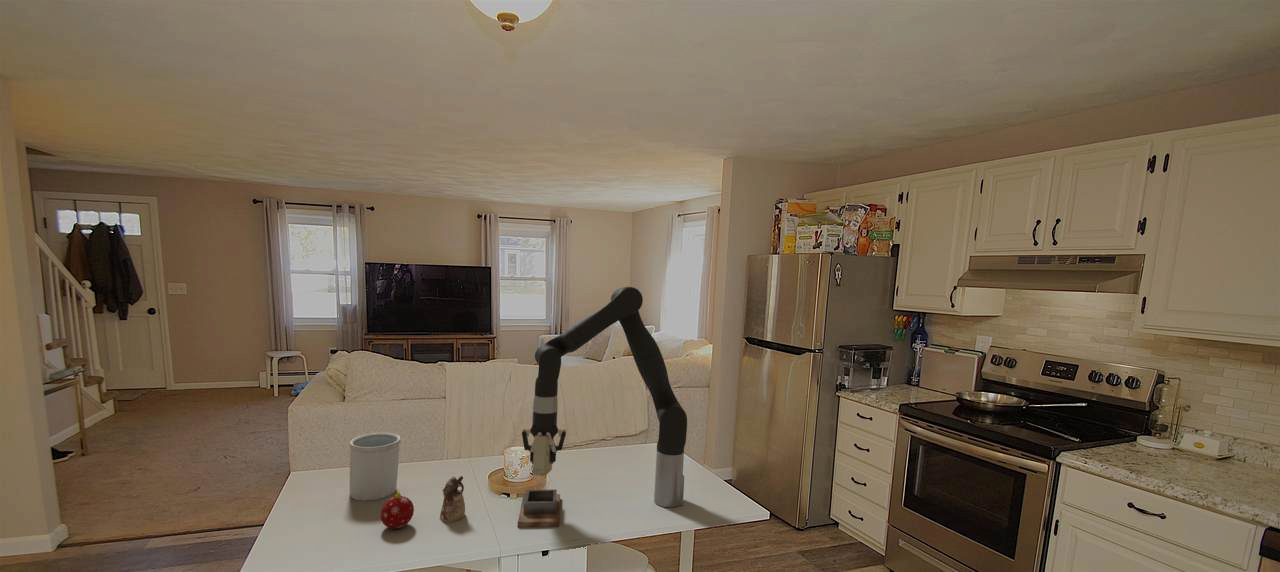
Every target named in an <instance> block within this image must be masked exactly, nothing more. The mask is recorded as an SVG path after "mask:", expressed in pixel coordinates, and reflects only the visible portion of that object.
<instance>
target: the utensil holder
mask: <svg viewBox="0 0 1280 572" xmlns="http://www.w3.org/2000/svg"><path fill="white" fill-rule="evenodd" d="M401 440H402V439H401V436H400V435H399V434H396V433H393V432H373V433H366V434H362V435H359V436H355V437H354V438H352V439H351V440H350V441H349V448H350V449H349V450H350V453H349V497H350V498H351V499H353V500H356V501H362V502H363V501H364V502H365V501H367V502H368V501H376V500H381V499H384V498H387V497H389V496H391V495H392V494H394V493H395V492H396V491H397V486H398V485H397V484H398V483H397V482H398V473H399V456H400V455H399V454H400V444H401Z"/></svg>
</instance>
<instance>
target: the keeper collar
mask: <svg viewBox="0 0 1280 572" xmlns="http://www.w3.org/2000/svg"><path fill="white" fill-rule="evenodd" d="M525 491H526V492H525V494H526V495H525V500H524V512H523V515H529V514H556V495H557V494H558V493H557V492H558V491H557V489H526V490H525Z"/></svg>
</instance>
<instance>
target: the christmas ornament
mask: <svg viewBox="0 0 1280 572" xmlns="http://www.w3.org/2000/svg"><path fill="white" fill-rule="evenodd" d="M414 507H415V506H414V503H413V501H412V500H411V499H410V498H408V497H406V496H404V495H403V496H402V494H401V493H400V491H398V492H396V494H395V496H394V497H391V498H390V499H388V500H387V501H385V503H384V505H383V506H382V507H381V511H380V520H381V522H382V524H383V525H384V526H385V527H387V528H388V529H393V530H396V529H400V528H403V527H405V526H407V525H408V523H409V522H410V521H411V520H412V519H413V516H414V512H415V508H414Z"/></svg>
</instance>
